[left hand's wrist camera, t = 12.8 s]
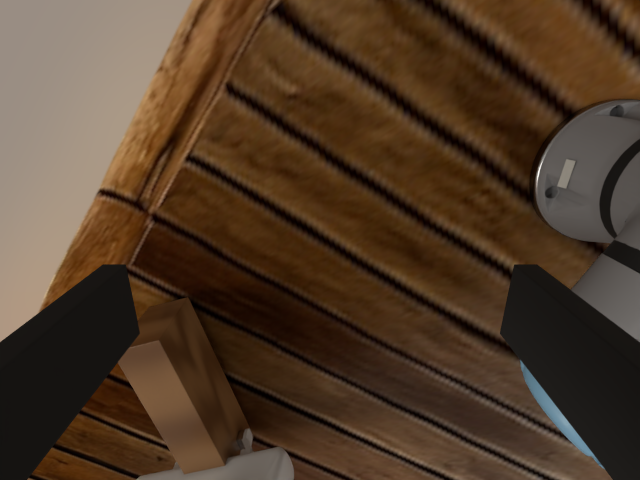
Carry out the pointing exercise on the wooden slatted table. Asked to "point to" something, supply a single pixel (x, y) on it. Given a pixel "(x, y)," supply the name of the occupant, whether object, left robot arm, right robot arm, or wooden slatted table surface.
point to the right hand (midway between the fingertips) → (223, 437)
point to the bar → (184, 387)
